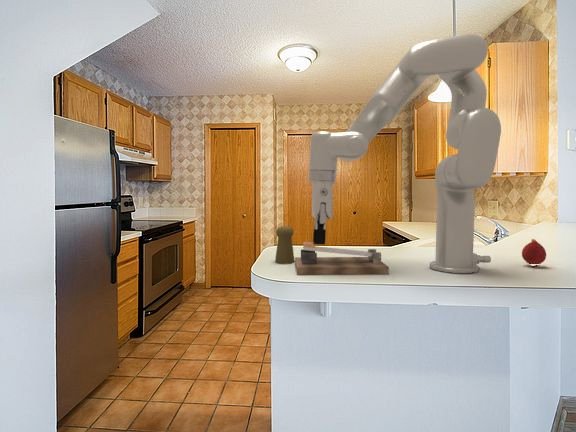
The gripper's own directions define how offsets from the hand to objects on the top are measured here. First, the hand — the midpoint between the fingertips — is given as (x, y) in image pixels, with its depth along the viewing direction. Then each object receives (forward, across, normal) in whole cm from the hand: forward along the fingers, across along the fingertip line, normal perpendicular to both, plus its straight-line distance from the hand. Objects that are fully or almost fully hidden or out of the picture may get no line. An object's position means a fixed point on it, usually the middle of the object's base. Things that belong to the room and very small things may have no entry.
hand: (318, 243), depth 102 cm
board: (+7, 0, -6) cm, 9 cm away
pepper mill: (+8, +10, +9) cm, 16 cm away
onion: (+4, +1, -62) cm, 62 cm away
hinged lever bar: (+2, 0, -6) cm, 6 cm away
